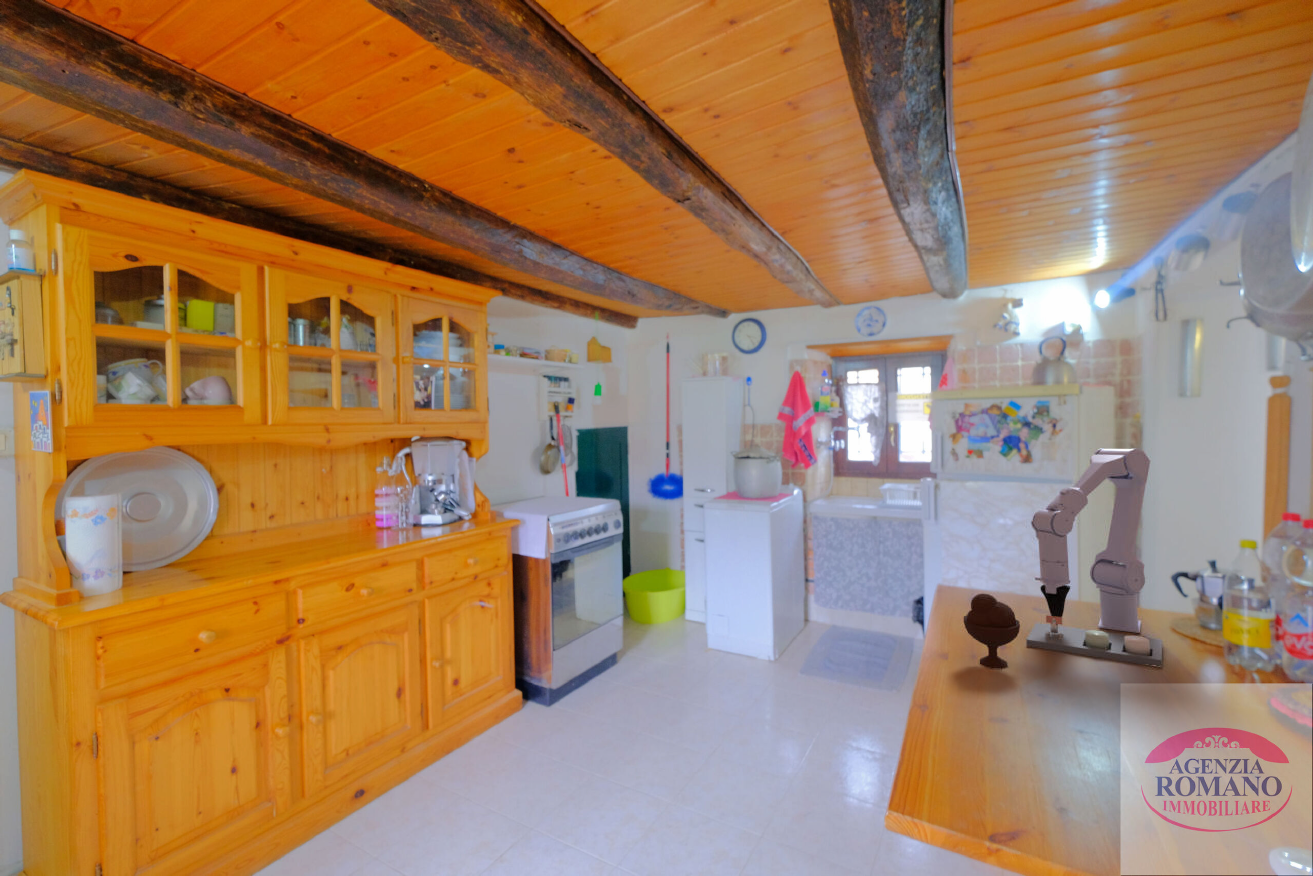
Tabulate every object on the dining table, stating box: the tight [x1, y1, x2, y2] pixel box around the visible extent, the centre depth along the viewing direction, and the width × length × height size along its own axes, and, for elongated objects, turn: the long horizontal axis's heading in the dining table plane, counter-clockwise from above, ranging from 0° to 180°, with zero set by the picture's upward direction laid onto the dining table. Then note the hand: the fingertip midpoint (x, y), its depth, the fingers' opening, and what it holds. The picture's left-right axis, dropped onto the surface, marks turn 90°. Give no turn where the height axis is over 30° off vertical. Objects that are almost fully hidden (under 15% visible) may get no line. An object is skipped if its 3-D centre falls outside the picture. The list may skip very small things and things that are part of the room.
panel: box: [1025, 622, 1163, 667], centre depth 135 cm, size 14×24×2 cm, turn 50°
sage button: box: [1085, 629, 1109, 650], centre depth 132 cm, size 4×4×3 cm
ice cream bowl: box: [963, 592, 1021, 670], centre depth 129 cm, size 11×11×15 cm
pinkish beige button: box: [1124, 635, 1151, 656], centre depth 128 cm, size 4×4×3 cm
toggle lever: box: [1045, 614, 1063, 633], centre depth 138 cm, size 1×3×4 cm, turn 48°
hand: (1056, 616), depth 142 cm, fingers closed
